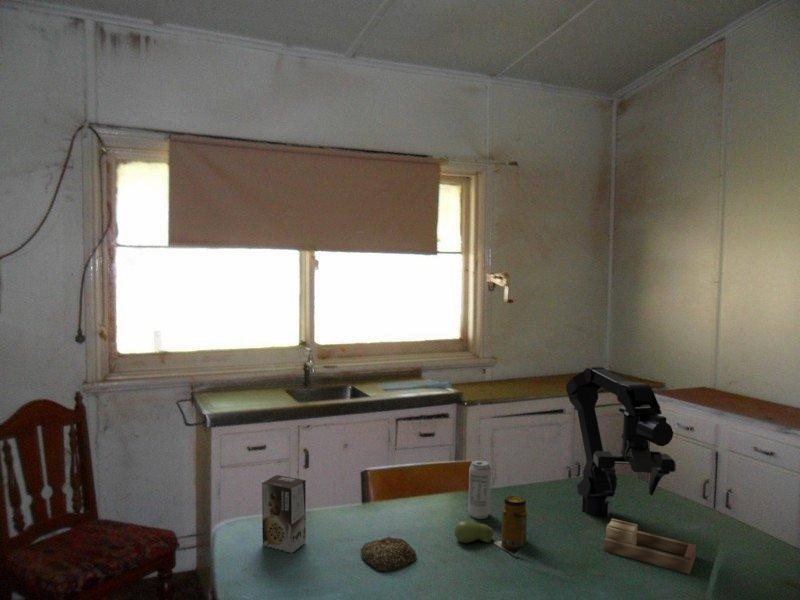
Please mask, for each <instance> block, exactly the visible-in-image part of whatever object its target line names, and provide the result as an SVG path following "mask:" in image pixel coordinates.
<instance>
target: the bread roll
mask: <svg viewBox="0 0 800 600" xmlns="http://www.w3.org/2000/svg"><path fill="white" fill-rule="evenodd" d="M360 554H361V557H362V559H363V560H364V561H365V562H366V563H367V564H368V565H370V566H372V567H373V568H375V570H377V571H379V570H380V571H379V572H388V571H389V572H390V571H395V570H398V569H401V568H405V567H406V566H407V565H409V564H411V563H413V562H414V561H415V560H416V557H417V553H416V550H415V549H414V548H413V547H412V546H411V545H410V544H409V543H408V542H407V541H406V540H404V539H402V538H395V537H391V536H387V537H386V536H385V537H383V538H381V539H376V540H375V539H373V540H372V541H366V542H365V543H364V545H362V547H361V548H360Z"/></svg>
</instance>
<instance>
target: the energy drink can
mask: <svg viewBox="0 0 800 600" xmlns="http://www.w3.org/2000/svg"><path fill="white" fill-rule="evenodd" d="M468 471H469V472H468V473H469V475H468V509H467V510H468V513H469V515H470V517H471V518H473V519H478V520H481V519H487V518H488V517H489V515H490V514H491V491H492V487H491V485H492V481H491V480H492V468H491V466H490V463H489V461H487V460H483V459H474V460H472V461H471V464H470V466H469V469H468Z"/></svg>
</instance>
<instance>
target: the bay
mask: <svg viewBox="0 0 800 600" xmlns="http://www.w3.org/2000/svg"><path fill="white" fill-rule="evenodd" d="M637 544H639V545H642V546H639V545H632V544H628V543H624V542H620V541H616V540H613V539H609V538H606V537H604V539H603V549H602V550H603V551H604V552H608V553H611V554H614V555H619V556H623V557H626V558H629V559H633V560H636V561H640V562H645V563H648V564H651V565H655V566H659V567H663V568H666V569H670V570H674V571H677V572H681V573H684V574H689V575H690V574H691V572H692V569H693V566H694V563H695V559H696V557H697V555H696V554H697V544H694V543H689V542H686V541H681V540H676V539H672V538H669V537H665V536H661V535H658V534H652V533H649V532H645V531H640V530H637ZM643 546H645V547H643ZM647 547H650V548H647ZM651 548H653V549H651ZM654 549H658V550H654ZM659 550H661V551H659ZM662 551H666V552H670V553H672V554H669V553H666V552H662ZM674 554H677V555H680V556H683V557H680V556H677V555H674Z"/></svg>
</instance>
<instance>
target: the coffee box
mask: <svg viewBox="0 0 800 600" xmlns="http://www.w3.org/2000/svg"><path fill="white" fill-rule="evenodd" d="M306 482H307V481H306V479H302V478H297V477H296V478H295V477H290V476H285V475H278V474H276V475H274V476H272V477H270V478H268V479H267V480H265V481H263V482H261V508H262V510H261V511H262V512H261V515H262V517H261V518H262V519H261V520H262V522H261V523H262V526H261V527H262V531H261V532H262V546H263V547H265V546H267V547H266V548H269V547H272V548H271V549H273V548H275V549H274V550H277V549H279V550H278V551H281V550H283V551H282V552H287V553H291V554H293V553H294V552H295V551H297V550H299V549H300V548H301V547H302V546H304V545H305V544H306V543H305V542H306V539H307V538H306V529H307V528H306V525H307V524H306V516H307V515H306V513H307V512H306V498H307V497H306V492H307V491H306V488H307V487H306ZM304 543H305V544H304ZM303 544H304V545H303ZM301 545H302V546H301ZM300 546H301V547H300ZM299 547H300V548H299ZM296 549H297V550H296Z"/></svg>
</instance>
